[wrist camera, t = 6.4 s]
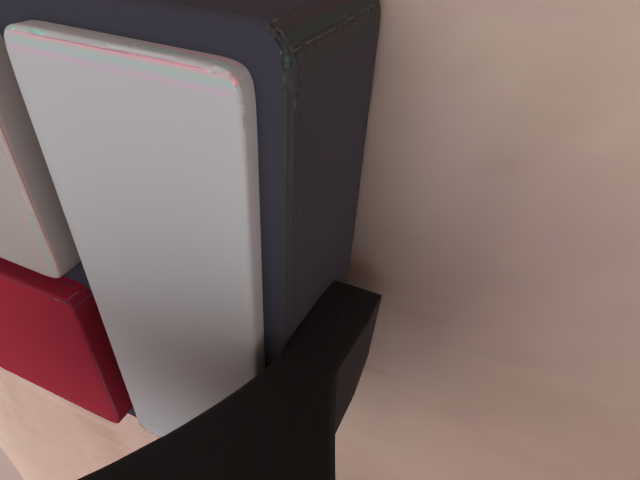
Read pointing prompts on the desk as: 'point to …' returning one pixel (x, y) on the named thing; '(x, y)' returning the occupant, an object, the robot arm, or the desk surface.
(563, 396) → the desk surface
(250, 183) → the calculator
